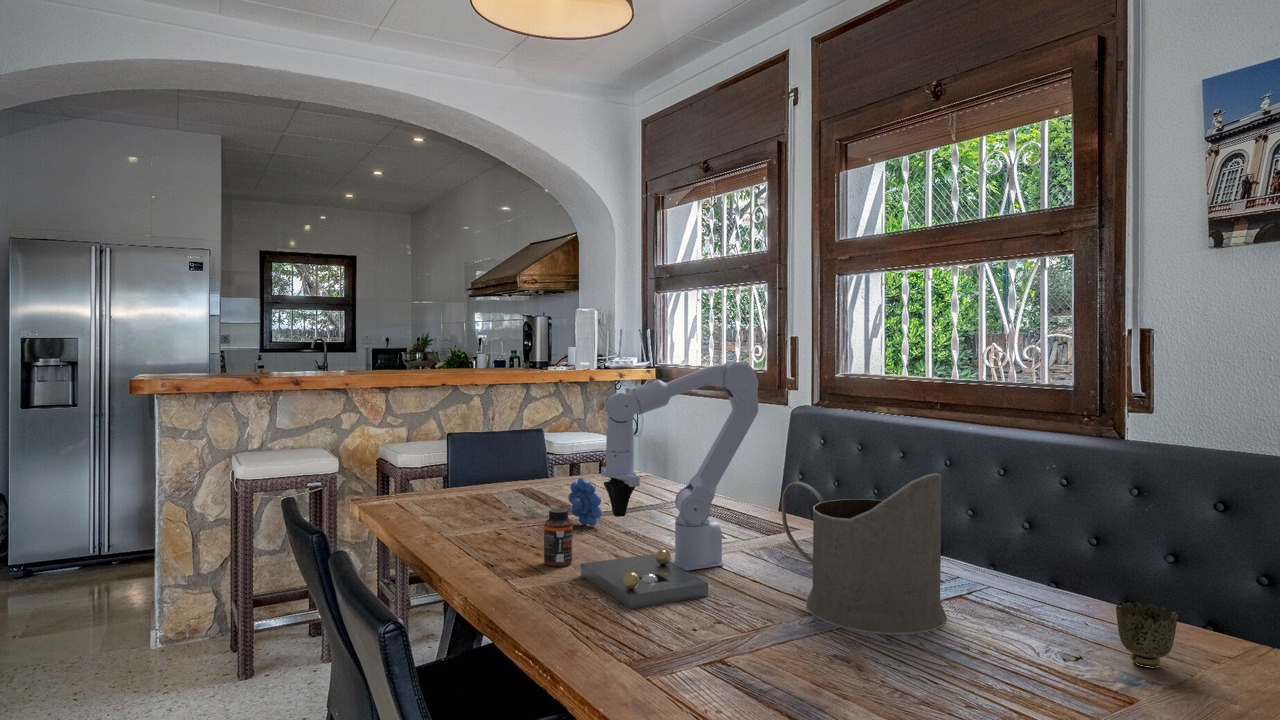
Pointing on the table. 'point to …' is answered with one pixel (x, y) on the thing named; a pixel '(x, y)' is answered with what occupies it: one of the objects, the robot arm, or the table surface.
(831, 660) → the table surface
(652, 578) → the steel ball
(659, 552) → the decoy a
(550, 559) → the supplement bottle
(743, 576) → the table surface
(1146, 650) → the cup
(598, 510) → the grapes
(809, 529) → the table surface
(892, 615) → the pitcher
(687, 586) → the plate
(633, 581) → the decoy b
